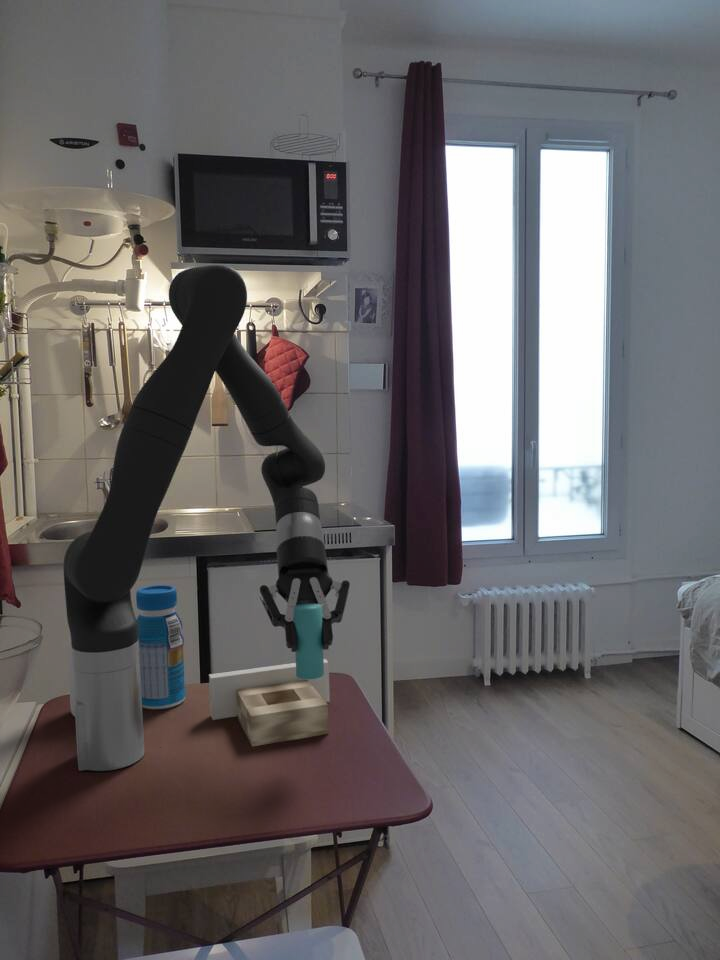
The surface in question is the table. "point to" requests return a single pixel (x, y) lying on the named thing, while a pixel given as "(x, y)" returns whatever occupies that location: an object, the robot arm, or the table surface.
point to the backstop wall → (255, 685)
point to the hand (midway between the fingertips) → (310, 647)
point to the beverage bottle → (160, 647)
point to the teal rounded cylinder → (309, 641)
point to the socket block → (282, 712)
